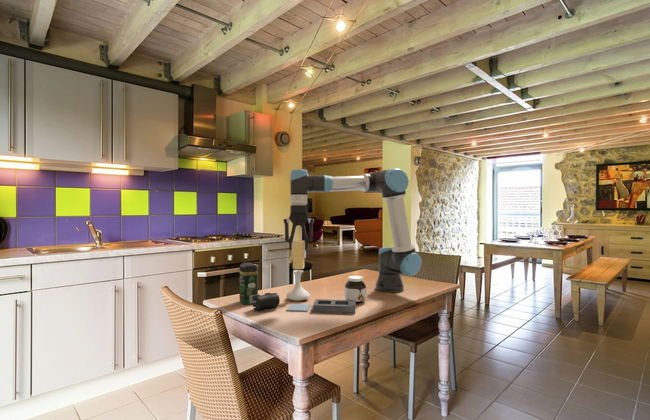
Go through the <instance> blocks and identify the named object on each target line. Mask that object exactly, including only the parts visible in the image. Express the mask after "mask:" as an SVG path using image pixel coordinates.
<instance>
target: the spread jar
mask: <svg viewBox="0 0 650 420" xmlns="http://www.w3.org/2000/svg"><path fill="white" fill-rule="evenodd" d="M363 279H364V278H363V276H360V275H350V276H348V277H347V282H345V284H344V288H343V289H344V294H343V295H344V298H345V299H344V300H356V304H357V305H358V304H361V303H364V302H365V301H366V300H367V286H366V283H365V282H364V281H363Z"/></svg>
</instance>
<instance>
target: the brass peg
mask: <svg viewBox="0 0 650 420" xmlns="http://www.w3.org/2000/svg"><path fill="white" fill-rule="evenodd" d="M303 243H305V240H293V261H292V269H293V270H296V269H297V270H298V269H299V270H303V269H304V268H305V258H303Z"/></svg>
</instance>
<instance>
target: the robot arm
mask: <svg viewBox="0 0 650 420" xmlns="http://www.w3.org/2000/svg"><path fill="white" fill-rule="evenodd" d="M289 177H290V178H289V179H290V181H289V182H290V186H289V187H290V197H289V198H290V199H289V200H290V201H289V202H290V206H289V208H290V210H289V212H290V213H289V214H290V215H289V216H288V218H284V219H283V223H284V241H285V242H288V243H289V244H288V245H289V248H288V249H289V251H291V256H292V258H293V241H294V238H295V235H296V234H295V233H296V229H297V227H298V226H300V227H301V231H302V235H303V241H305V243H303V258H304V259H306V257H307V251H308V250H309V243H310V242H313V233H314V232H313V230H314V229H313V227H314V226H313V225H314V222H315V219H314V218H311V217H309V215H308V194H310V193H311V194H312V193H330V192H350V191H351V192H352V191H354V192H355V191H362V192H363V193H377V194H378V193H379V194H381V195H382V197H381V198H382V199H384V200H385V202H386V208H387V212H388V219H389V224H390V230H391V236H392V242H393V246H389V247H380V248H379V249H378V276H377V279H376V282H375V290H376V291H379V292H383V293H385V292H386V293H399V292H403V291H404V290H405V289H404V283H403V279H402V277H401V275H404V276H415V275H417V273H419V272H420V269H421V267H422V264H423V260H422V257H421V255H420V254H418V253H417V252H416V247H415V245H414V244H412V242H411V236H410V230H409V224H408V223H409V222H408V217H407V212H406V206H405V200H404V198H405V196H406V195H407V192H406V190H407V189H408V186H409V177H408V175H407V173H406V172H405V171H403V169H400V168H387V169H384V170H378V171H374V172H370V173H362V174H361V175H346V176H345V175H339V176H337V175H336V176H331V175H325V174H309V173H308V170H307V169H301V168H295V169H292V170H291V171H290V176H289ZM290 222H291V224H292V226H291V231H290V225H289V223H290ZM307 222H308V224H309V225H308V233H307V228H306V223H307Z"/></svg>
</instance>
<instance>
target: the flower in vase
mask: <svg viewBox="0 0 650 420" xmlns="http://www.w3.org/2000/svg"><path fill="white" fill-rule="evenodd" d="M291 263H293V258H292V255H291V256H290V257H289V259H288V264H291ZM292 272H293V274H294V278H295V285H294V287H293V288H292V289H290V291H288V292H287V294H286V296H285V297H286V298H287V299H288V300H290V301H296V302H297V301H299V302H300V301H304V300H307V299H309V298H310V297H311V296H310V293H309V292H308V291H307V290H306V289H304V288H303V287H302V285H301V277H302V274H303V273H304V270H303V269H293V271H292Z"/></svg>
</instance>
